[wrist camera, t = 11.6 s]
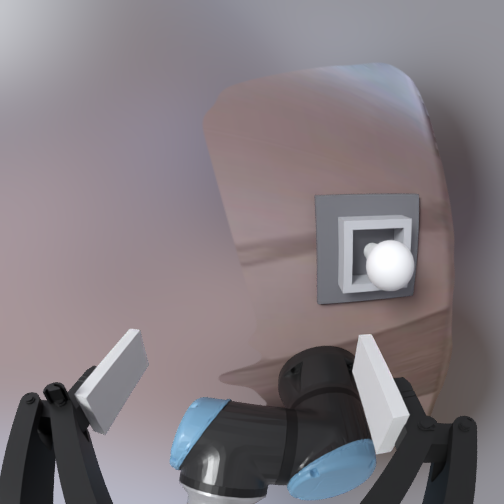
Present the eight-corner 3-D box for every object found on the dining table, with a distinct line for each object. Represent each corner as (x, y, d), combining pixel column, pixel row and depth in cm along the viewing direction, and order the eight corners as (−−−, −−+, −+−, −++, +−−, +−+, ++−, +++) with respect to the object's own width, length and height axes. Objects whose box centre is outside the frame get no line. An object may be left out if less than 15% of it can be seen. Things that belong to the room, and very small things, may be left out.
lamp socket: (410, 292, 41) (421, 304, 37) (317, 300, 43) (320, 314, 38) (415, 193, 37) (430, 196, 33) (314, 195, 39) (319, 197, 34)
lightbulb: (391, 231, 38) (428, 249, 27) (384, 271, 40) (415, 300, 29) (353, 226, 38) (381, 243, 28) (346, 267, 40) (370, 297, 29)
